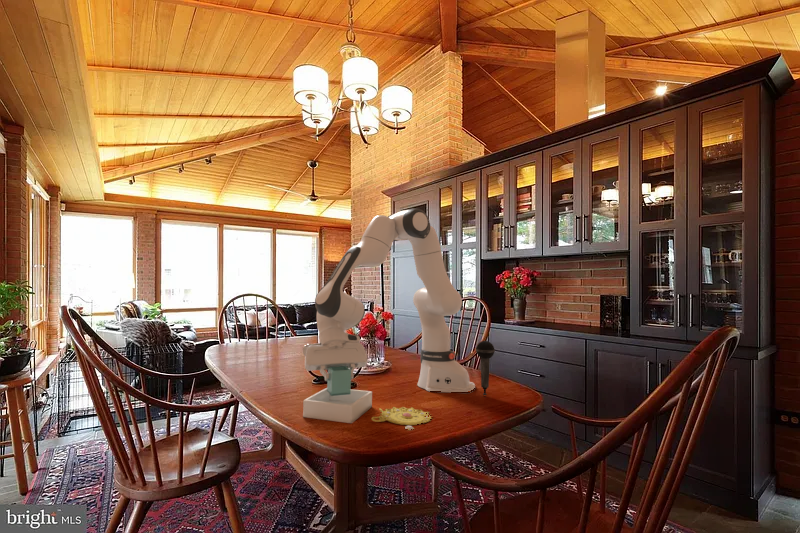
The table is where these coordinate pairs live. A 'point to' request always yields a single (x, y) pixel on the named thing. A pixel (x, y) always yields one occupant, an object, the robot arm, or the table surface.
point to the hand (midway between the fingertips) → (339, 379)
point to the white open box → (337, 406)
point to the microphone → (485, 362)
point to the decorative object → (403, 416)
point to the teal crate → (339, 381)
